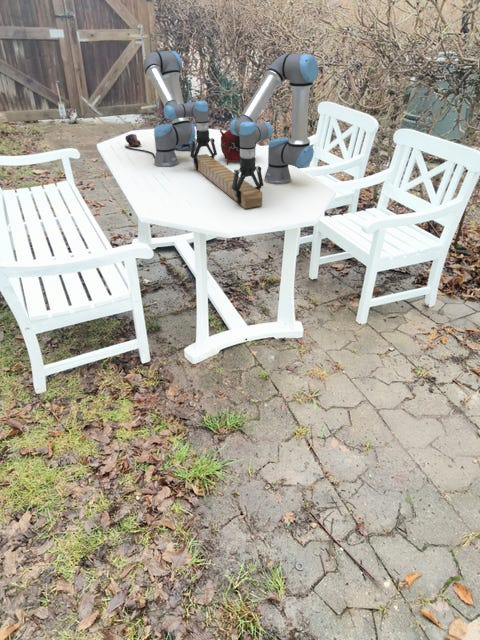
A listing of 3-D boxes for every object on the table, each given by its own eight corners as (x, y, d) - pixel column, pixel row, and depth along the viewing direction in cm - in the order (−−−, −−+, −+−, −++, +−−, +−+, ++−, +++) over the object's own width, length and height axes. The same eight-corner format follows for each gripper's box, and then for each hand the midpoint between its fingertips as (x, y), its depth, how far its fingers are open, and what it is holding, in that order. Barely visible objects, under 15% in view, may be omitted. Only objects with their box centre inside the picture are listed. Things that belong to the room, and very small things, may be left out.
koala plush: (197, 151, 320) (195, 121, 309) (172, 151, 319) (169, 122, 308) (197, 145, 334) (195, 116, 323) (173, 145, 333) (170, 117, 322)
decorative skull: (217, 132, 305) (217, 129, 281) (251, 125, 304) (254, 121, 280) (224, 165, 312) (224, 164, 288) (257, 157, 311) (260, 156, 287)
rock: (137, 145, 340) (124, 146, 336) (136, 133, 337) (122, 134, 332) (142, 146, 331) (129, 147, 327) (140, 133, 327) (127, 134, 323)
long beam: (193, 167, 284) (193, 155, 280) (207, 165, 287) (206, 154, 283) (245, 208, 224) (245, 195, 220) (261, 205, 227) (262, 192, 223)
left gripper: (186, 133, 261) (189, 171, 274) (221, 129, 268) (222, 167, 281) (183, 130, 267) (185, 168, 280) (217, 126, 274) (218, 164, 287)
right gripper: (229, 161, 212) (231, 207, 225) (271, 155, 219) (270, 200, 232) (223, 157, 217) (225, 202, 230) (264, 152, 224) (263, 195, 237)
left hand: (204, 168), depth 280 cm, fingers closed on long beam, 9 cm apart
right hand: (247, 201), depth 231 cm, fingers closed on long beam, 9 cm apart
